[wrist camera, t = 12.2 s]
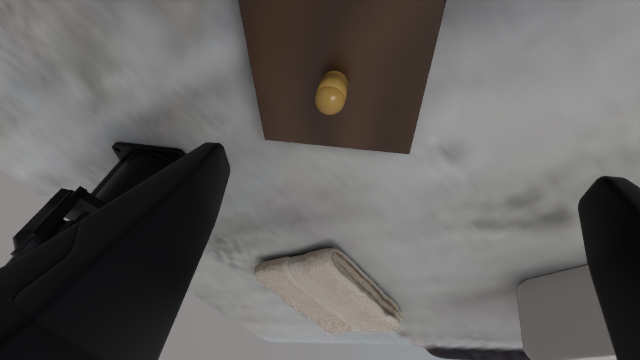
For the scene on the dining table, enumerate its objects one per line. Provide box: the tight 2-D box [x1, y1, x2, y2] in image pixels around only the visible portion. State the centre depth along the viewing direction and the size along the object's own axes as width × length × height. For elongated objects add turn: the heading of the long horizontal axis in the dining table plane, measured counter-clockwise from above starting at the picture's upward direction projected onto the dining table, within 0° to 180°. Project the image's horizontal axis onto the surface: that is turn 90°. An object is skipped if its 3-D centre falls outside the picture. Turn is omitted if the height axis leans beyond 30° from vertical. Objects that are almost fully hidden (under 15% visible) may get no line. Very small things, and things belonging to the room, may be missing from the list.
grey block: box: [517, 265, 617, 360], centre depth 28 cm, size 8×10×10 cm
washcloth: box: [254, 248, 403, 333], centre depth 39 cm, size 12×18×3 cm, turn 36°
